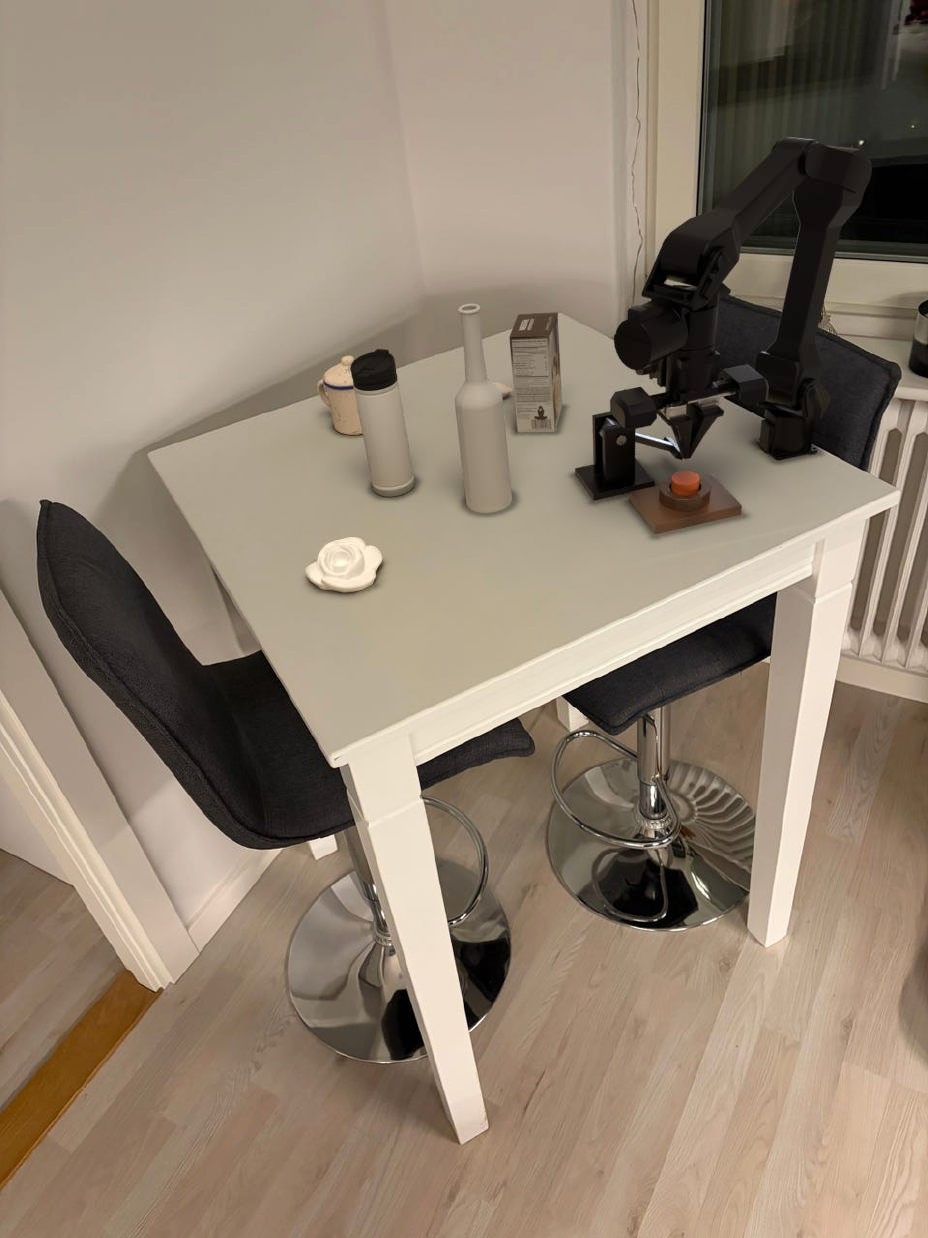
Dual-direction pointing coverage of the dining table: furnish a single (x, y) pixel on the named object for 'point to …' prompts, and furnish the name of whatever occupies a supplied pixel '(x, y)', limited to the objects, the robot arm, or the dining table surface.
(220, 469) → the dining table surface
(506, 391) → the macaroon
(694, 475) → the button
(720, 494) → the button block
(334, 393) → the teacup with lid
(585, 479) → the lever bracket
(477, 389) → the bottle
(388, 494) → the travel mug
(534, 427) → the coffee box
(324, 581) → the rose
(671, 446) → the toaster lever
